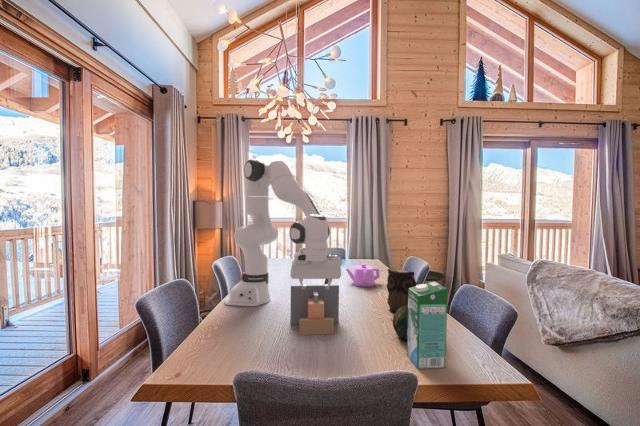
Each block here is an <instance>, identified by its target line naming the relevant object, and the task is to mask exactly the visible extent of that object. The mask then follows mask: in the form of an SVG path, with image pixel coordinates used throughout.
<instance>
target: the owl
mask: <svg viewBox="0 0 640 426" xmlns="http://www.w3.org/2000/svg"><path fill="white" fill-rule="evenodd" d="M387 271H388V272H387V273H388V275H387V284H386V289H387V291H388V295H387V305H388V306H389V310H388V312H389V313H391V314H394V315H395V313H396V311H397V310H398V309H399V308H401V307H402V306H405V305H408V290H409V288H411V287H415V286H416V285H418V284H417V282H416V281H417V280H416V278H415V272H414V271H408V270H401V269H391V268H388V269H387Z"/></svg>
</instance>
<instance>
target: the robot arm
mask: <svg viewBox="0 0 640 426" xmlns="http://www.w3.org/2000/svg"><path fill="white" fill-rule="evenodd" d="M243 174H244V177H245V179H246V180H248V181H247V183H246V184H247V185H246V194H245V198H246V199H245V212H246V213H247V215H249V216H250V218H251V220H252V224H244V225H241V226H238V227H237V228H236V229H235V231H234V233H233V239H234V242H235V244H236V245H237V246H238V247H239V248H240V249H241V251H242V253H243V255H244V260H245V261H244V262H245V267H244V268H245V269H244V270H245V271H243V272H241V275H240V276H241V277H240V278H241V280H240V281H239V282H238V283H236V284H235V285H234V286H232V288H231V289H230V292H229V296H228V295H227V297H226V298H225V300H224V304H225V306H235V307H236V306H243V307H257V306H259V305H260V306H261V305H264V304H267V303H269V302H270V301H271V295H270V290H269V282H270V280H269V279H270V278H269V276H270V275H269V271H268V265H269V263H268V256H267V255H266V254H264V253H263V250H262V246H263V245H264V246H265V245H268V244H271V243H273V242H275V241H276V240H277V238H278V235H279V233H278V232H279V231H278V228H277V227H276V226H275V224H273V222H272V220H271V215H270V212H269V211H270V210H269V188H270V186H271V188H272V191H273V193H274V194H275V196H276V197H277V199H278V200H280V201H282V202H284V203H289V204H291V205H294V206H296V207H298V208H299V209H300V210H301V211H302V212H303V214H304V216H305V218H304V219H301V220H298V221H296V222H293V223H292V224H291V225H290V227H289V238H290V240H291V241H292V242H293V244H296V245H305V247H304V250H300V251H298V252H297V251H296V252H295V253H294V255H293V257H294V259H293V260H292V262H291V267H290V274H289V275H290V277H291V279H293V280H294V279H295V280H298V282H299V283H300V285H302V290H305V289H306V288H305V287H306V285H307V284H304V283H303V282H304V280H325V279H328V281H329V282H328V284H325V290H329V286H330V285H332V282H333V280H338V279H339V280H340V279H341V277H342V269H341V268H342V267H341V266H342V264H343V259H342V257H341V256H339V255H338V254H337V255H336V254H335V255H331V254H328V252H329V251H328V239H329V237H330V235H331V229H330V226H329V223H328V219H327V217H326V216H324V215H323V214H320V212H319V210H318V209H317V207H316V206H315V204H314V201H313V200H312V199H311V197H310V196H309V194H308V193H307V192H306V190H304V189H303V188H302V186H300V184H299V183H298V181H297V179H296V177H295V174H294V173H293V171H292V169H291V168H290V166H289V164H288V163H287V161H285V160H283V159H276V160H273V159H268V158H267V159H263V158H262V159H261V158H260V159H259V158H251V159H248V160H247V161H246V162H245V164H244V166H243Z"/></svg>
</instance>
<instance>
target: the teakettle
mask: <svg viewBox="0 0 640 426" xmlns="http://www.w3.org/2000/svg"><path fill="white" fill-rule="evenodd" d="M345 271H346V272H347V273H348V276H349V277H350V278H351V280H352V283H353V285H354V287H363V288H364V287H366V288H367V287H372V286H373V287H374V285H375V280H377V279H380V277H381V276H380V268H377V267H372V266H371V265H367V264H366V263H361V264H360V265H359V264H358V265H354V268H353V273H352V271H351V270H350V269H349V268H346V269H345ZM374 272H375V274H374Z"/></svg>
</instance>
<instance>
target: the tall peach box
mask: <svg viewBox="0 0 640 426" xmlns="http://www.w3.org/2000/svg"><path fill="white" fill-rule="evenodd" d="M321 318H324V302H323V299H322V298H318V293H317V292H313V298H310V299H308V319H321Z"/></svg>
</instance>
